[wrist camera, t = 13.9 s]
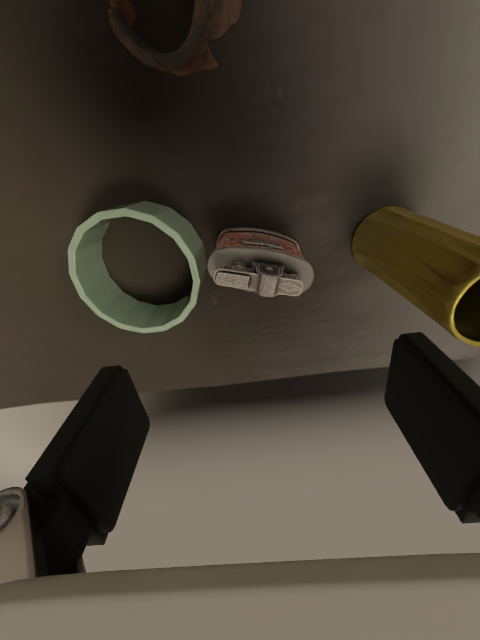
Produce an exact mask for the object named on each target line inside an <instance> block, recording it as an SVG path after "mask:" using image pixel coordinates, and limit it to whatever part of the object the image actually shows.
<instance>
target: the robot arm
mask: <svg viewBox="0 0 480 640" xmlns="http://www.w3.org/2000/svg"><path fill="white" fill-rule="evenodd" d="M385 404H386V406H387V408H388V410H389V412H390V413H391V415H392V416H393V418H394V420H395V422H396V423H397V425H398V427H399V428H400V430H401V432H402V433H403V435H404V437H405V438H406V440H407V442H408V443H409V445H410V447H411V449H412V450H413V452H414V454H415V455H416V457H417V459H418V460H419V462H420V463H421V465H422V467H423V469H424V470H425V472H426V474H427V475H428V477H429V479H430V480H431V482H432V484H433V485H434V487H435V489H436V490H437V492H438V494H439V496H440V497H441V499H442V501H443V502H444V504H445V505H446V507H447V508H448V509H449V510H451V511H455V513H456V514H457V516H458V517H459V519H460V521H461V522H462V523H477V522H480V386H479V385H477V384H476V383H475V382H474V381H473V380H472V379H471V378H470V377H469V376H468V375H467V374H466V373H465V372H464V371H462V370H461V369H460V368H459V367H458V366H457V365H456V364H455V363H454V362H453V361H452V360H451V359H450V358H449V357H448V356H446V355H445V354H444V353H443V352H442V351H441V350H440V349H439V348H438V347H437V346H436V345H435V344H434V343H433V342H431V341H430V340H429V339H428V338H427V337H426V336H425V335H424V334H423V333H421V332H416V333H407V334H401V335H400V336H399V339H395V341H394V344H393V349H392V355H391V361H390V367H389V373H388V379H387V385H386V391H385ZM149 426H150V422H149V418H148V416H147V413H146V411H145V409H144V407H143V405H142V402H141V400H140V398H139V396H138V393H137V391H136V389H135V386H134V384H133V382H132V380H131V378H130V375H129V373H128V371H127V370H126V369H123V368H122V367H121V366H119V365H117V366H108V367H103V368H101V370H100V371H99V372H98V374H97V375H96V377H95V378H94V380H93V381H92V382H91V384H90V385H89V387H88V388H87V390H86V391H85V393H84V394H83V396H82V397H81V398H80V400H79V401H78V403H77V404H76V406H75V407H74V409H73V410H72V412H71V413H70V414H69V416H68V417H67V419H66V420H65V422H64V423H63V425H62V426H61V428H60V429H59V430H58V432H57V433H56V435H55V436H54V438H53V439H52V441H51V442H50V444H49V445H48V447H47V448H46V450H45V451H44V452H43V454H42V455H41V457H40V458H39V460H38V461H37V462H36V464H35V465H34V467H33V468H32V470H31V471H30V473H29V474H28V476H27V477H26V478H25V479H26V480H27V482H28V483H27V484H26V486H25V487H24V489H22V488H20V487H11V488H7V489H4V490H1V491H0V640H480V553H459V554H429V555H408V556H387V557H365V558H344V559H323V560H303V561H283V562H264V563H246V564H226V565H207V566H191V567H190V566H189V567H172V568H155V569H137V570H119V571H105V572H104V571H103V572H90V573H86V571H85V566H84V562H83V558H82V554H83V552H84V550H85V547H86V545H87V546H91V545H104V544H105V541H106V538H107V535H108V533H109V532H111V531H112V530H113V529H114V527H115V525H116V522H117V519H118V516H119V513H120V510H121V508H122V505H123V502H124V499H125V496H126V493H127V490H128V487H129V485H130V482H131V479H132V476H133V473H134V470H135V467H136V465H137V462H138V459H139V456H140V453H141V450H142V448H143V445H144V442H145V439H146V436H147V433H148V431H149Z"/></svg>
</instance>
